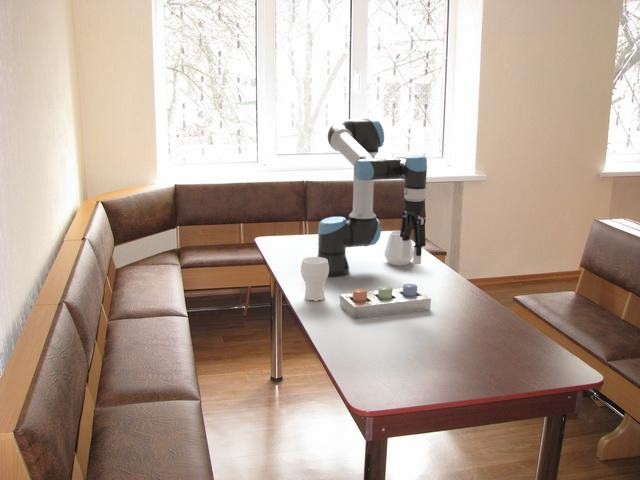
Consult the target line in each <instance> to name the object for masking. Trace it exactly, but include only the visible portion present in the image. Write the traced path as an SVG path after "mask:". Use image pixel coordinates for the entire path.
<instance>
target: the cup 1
mask: <svg viewBox="0 0 640 480" xmlns="http://www.w3.org/2000/svg"><path fill="white" fill-rule="evenodd" d="M300 273H301V277H302V280H303V282H304V285H305V292H304V297H305V298H306V299H309V300H314V301H313V302H319V301H318V300H321V301H323V299H324V298H325V297H326V296H325V291H324V288H325V282H326V281H327V279H328V277H329V276H328V274H329V264H328V260H327V259H325V258H322V257H317V256H308V257H305V258H303V259H302V260H301V265H300ZM305 298H304V299H305ZM306 299H305V300H306ZM309 300H308V301H309ZM324 300H325V299H324Z"/></svg>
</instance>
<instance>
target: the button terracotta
mask: <svg viewBox="0 0 640 480" xmlns="http://www.w3.org/2000/svg"><path fill="white" fill-rule="evenodd" d="M367 292H368V290H366V289H363V288H355V289H353V290H352V293H353V302H354V303H359V302H367Z"/></svg>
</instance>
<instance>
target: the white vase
mask: <svg viewBox="0 0 640 480" xmlns="http://www.w3.org/2000/svg"><path fill="white" fill-rule="evenodd" d="M400 232H401V230H392V231H390V232H389V234H388V239H387V242H386V245H385V248H384V252H383V255H384V257H385V259H386V261H387V262H388V264H389V265H392V266H406V265H409V264H410V262H411V260H413V255H414V246H413V242H412V237H411V236H410V238H411V240H410V241H411V244H410V258H402V254H403V240H402V237H400Z"/></svg>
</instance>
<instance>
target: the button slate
mask: <svg viewBox="0 0 640 480" xmlns="http://www.w3.org/2000/svg"><path fill="white" fill-rule="evenodd" d="M402 288H403V296H405V297H414V296H417V290H418V285H417V284H414V283H405V284H403V285H402Z"/></svg>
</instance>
